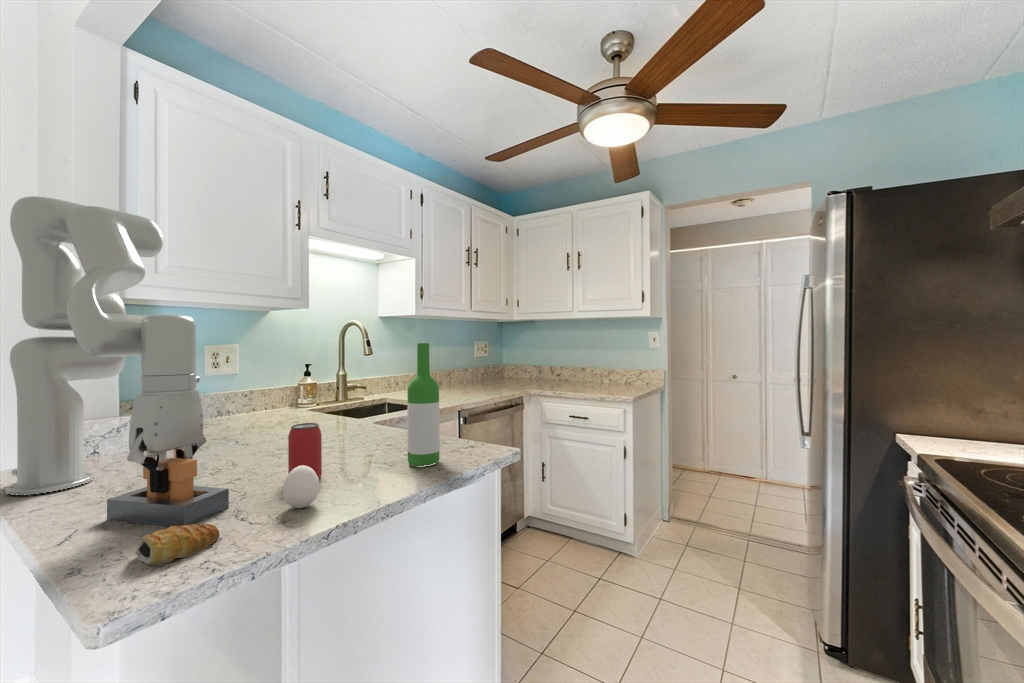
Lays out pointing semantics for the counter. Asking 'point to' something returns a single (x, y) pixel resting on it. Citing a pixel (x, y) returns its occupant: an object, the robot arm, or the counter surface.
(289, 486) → the egg
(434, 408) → the wine bottle
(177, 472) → the tall orange stepped block
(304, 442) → the beer can
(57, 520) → the counter surface
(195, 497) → the gray rectangular frame
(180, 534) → the pastry
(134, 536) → the counter surface
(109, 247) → the robot arm
